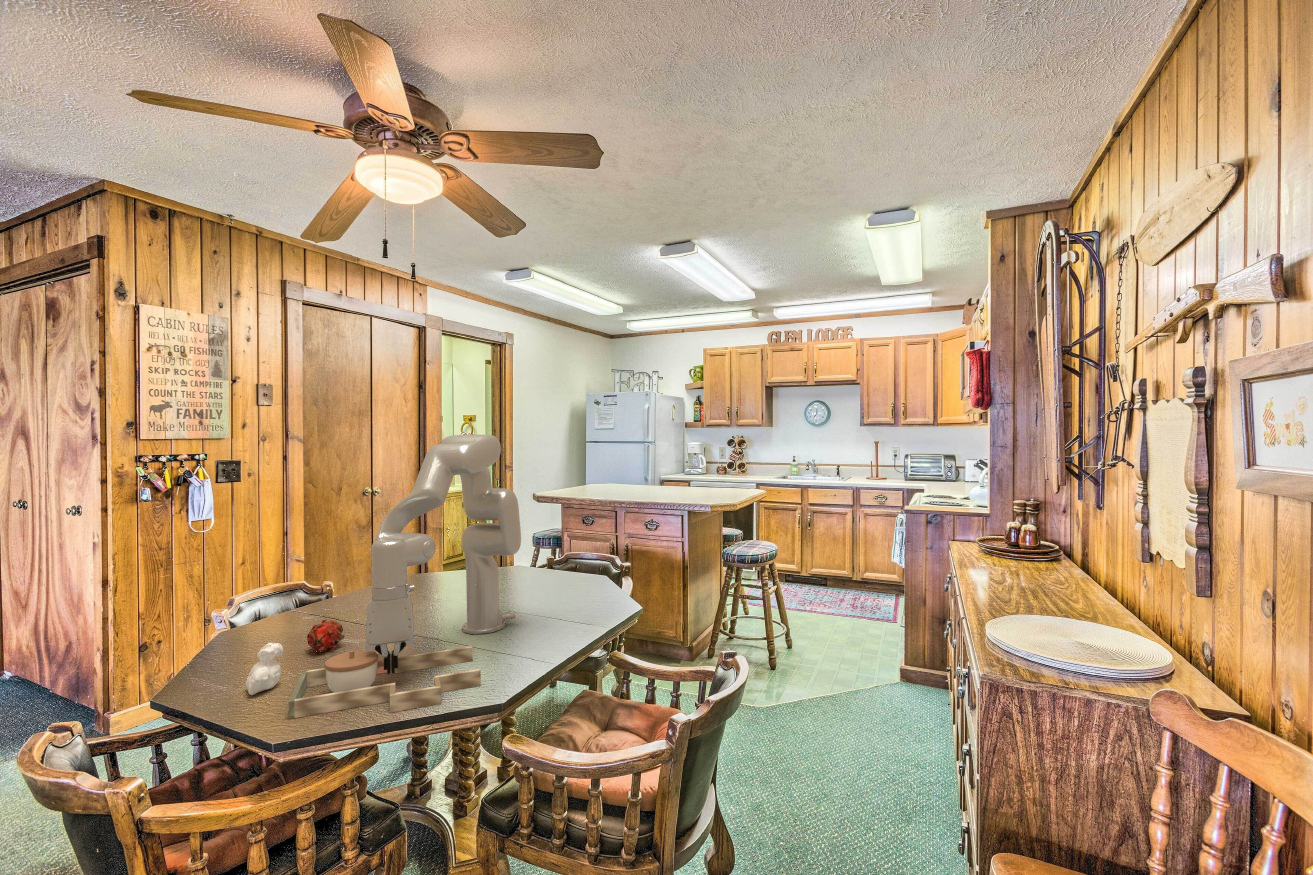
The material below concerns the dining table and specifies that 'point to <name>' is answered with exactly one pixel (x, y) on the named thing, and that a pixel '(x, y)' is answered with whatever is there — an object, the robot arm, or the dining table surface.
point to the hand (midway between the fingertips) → (391, 671)
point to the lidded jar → (351, 670)
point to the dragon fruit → (325, 635)
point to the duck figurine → (265, 669)
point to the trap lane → (387, 685)
